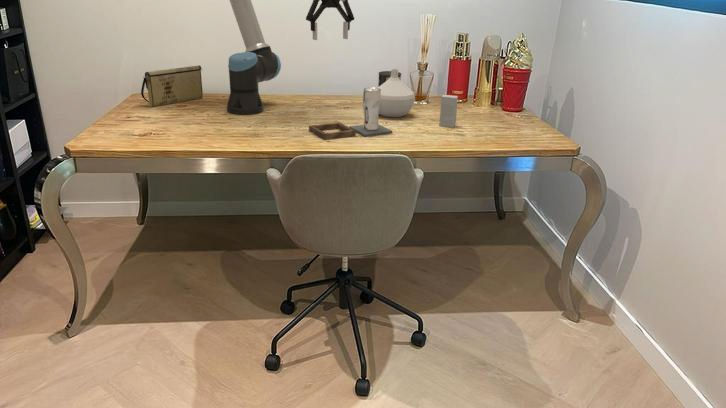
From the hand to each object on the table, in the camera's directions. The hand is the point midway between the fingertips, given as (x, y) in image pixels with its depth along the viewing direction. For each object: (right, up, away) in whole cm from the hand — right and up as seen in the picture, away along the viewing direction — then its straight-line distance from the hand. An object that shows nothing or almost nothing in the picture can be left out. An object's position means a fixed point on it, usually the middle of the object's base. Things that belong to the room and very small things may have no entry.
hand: (330, 39), depth 218 cm
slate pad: (+16, -38, -10) cm, 42 cm away
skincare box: (+47, -34, +2) cm, 58 cm away
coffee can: (+25, -19, +36) cm, 48 cm away
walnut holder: (+1, -39, -14) cm, 42 cm away
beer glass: (+16, -37, -10) cm, 42 cm away
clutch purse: (-71, -21, +25) cm, 78 cm away
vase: (+26, -28, +16) cm, 41 cm away
